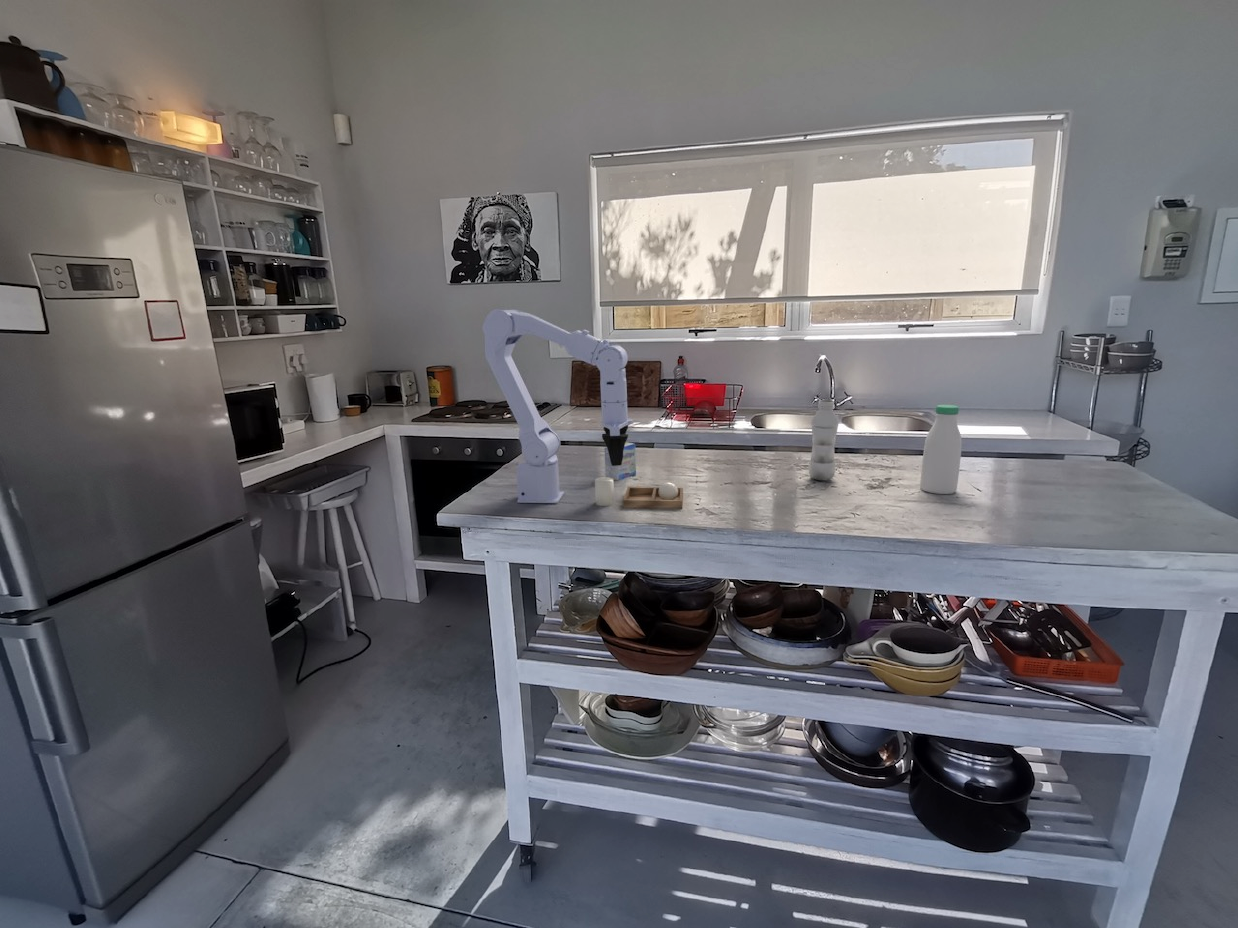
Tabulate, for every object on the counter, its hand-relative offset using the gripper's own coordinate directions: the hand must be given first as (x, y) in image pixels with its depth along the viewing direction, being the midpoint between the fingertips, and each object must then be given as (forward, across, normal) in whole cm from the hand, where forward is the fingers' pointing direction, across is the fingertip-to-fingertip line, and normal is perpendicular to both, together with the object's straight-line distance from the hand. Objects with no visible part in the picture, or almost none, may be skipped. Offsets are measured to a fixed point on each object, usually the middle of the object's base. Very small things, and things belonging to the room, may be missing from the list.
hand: (616, 461), depth 137 cm
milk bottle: (+12, +5, -75) cm, 76 cm away
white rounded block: (+10, -2, +3) cm, 10 cm away
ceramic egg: (+10, -1, -11) cm, 15 cm away
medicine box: (+10, +21, 0) cm, 23 cm away
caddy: (+10, -1, -8) cm, 13 cm away
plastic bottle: (+11, +16, -51) cm, 55 cm away
